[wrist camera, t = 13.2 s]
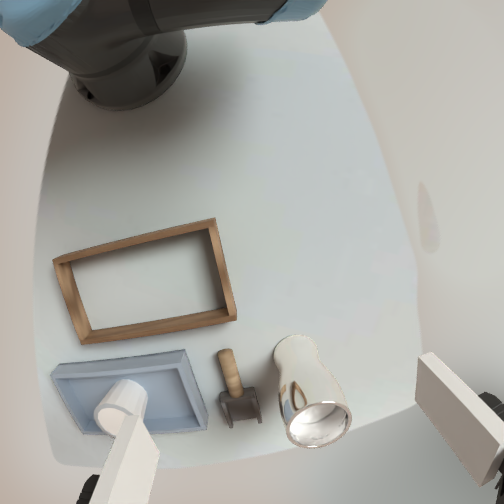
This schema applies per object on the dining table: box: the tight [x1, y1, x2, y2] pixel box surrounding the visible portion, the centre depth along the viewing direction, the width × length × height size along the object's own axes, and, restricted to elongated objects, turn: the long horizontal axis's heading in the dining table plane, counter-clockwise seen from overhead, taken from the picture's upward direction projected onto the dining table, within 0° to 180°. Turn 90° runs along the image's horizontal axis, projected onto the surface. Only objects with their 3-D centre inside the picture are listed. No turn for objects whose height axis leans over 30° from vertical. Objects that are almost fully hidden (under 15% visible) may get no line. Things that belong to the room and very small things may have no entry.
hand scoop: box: [217, 349, 262, 428], centre depth 41 cm, size 13×5×2 cm, turn 12°
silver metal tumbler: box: [273, 335, 352, 448], centre depth 34 cm, size 7×7×15 cm
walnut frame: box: [52, 218, 237, 345], centre depth 37 cm, size 12×21×3 cm, turn 102°
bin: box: [50, 349, 208, 435], centre depth 40 cm, size 12×21×4 cm, turn 102°
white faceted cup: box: [94, 379, 148, 438], centre depth 38 cm, size 7×7×7 cm
